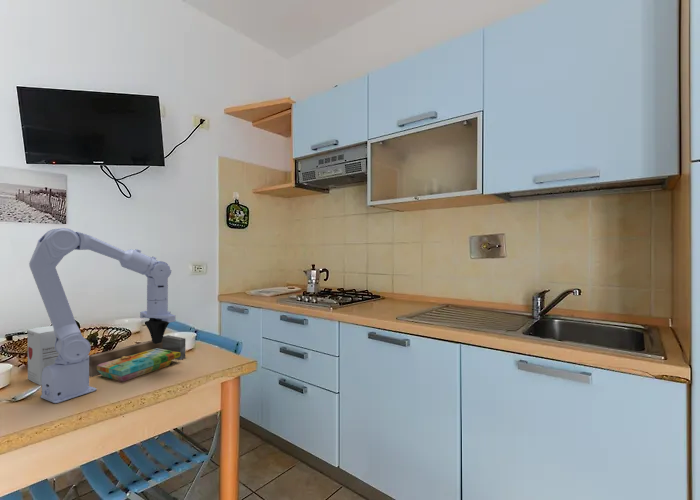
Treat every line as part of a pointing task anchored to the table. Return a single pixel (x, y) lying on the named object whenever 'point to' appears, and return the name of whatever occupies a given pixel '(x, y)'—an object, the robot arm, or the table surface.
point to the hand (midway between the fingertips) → (157, 342)
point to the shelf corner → (136, 351)
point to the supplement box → (40, 351)
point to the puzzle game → (137, 364)
